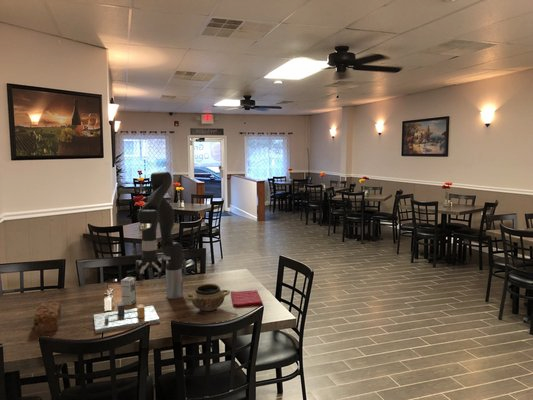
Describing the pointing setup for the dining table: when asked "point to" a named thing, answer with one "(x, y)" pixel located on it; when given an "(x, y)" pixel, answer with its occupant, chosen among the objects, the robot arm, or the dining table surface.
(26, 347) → the dining table surface
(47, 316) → the bread
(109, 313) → the console panel
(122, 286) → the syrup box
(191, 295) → the ceramic bowl
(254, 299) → the dish towel
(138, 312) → the fader knob
